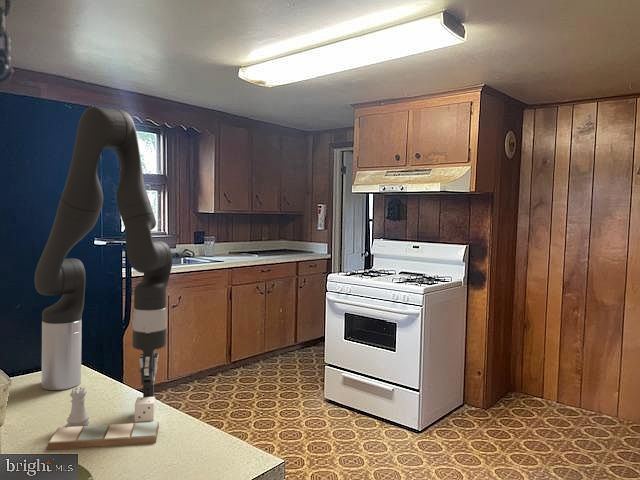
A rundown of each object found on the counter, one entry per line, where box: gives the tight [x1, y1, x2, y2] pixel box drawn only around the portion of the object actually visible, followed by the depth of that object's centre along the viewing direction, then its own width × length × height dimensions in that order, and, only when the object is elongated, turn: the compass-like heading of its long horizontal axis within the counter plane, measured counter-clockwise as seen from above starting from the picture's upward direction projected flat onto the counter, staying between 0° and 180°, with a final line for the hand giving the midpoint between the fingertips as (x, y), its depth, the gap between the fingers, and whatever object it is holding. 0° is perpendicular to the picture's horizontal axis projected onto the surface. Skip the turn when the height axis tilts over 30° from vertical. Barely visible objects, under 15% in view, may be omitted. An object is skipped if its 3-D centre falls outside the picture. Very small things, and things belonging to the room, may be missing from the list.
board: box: [47, 421, 160, 450], centre depth 101 cm, size 7×20×1 cm, turn 103°
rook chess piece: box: [65, 386, 90, 427], centre depth 106 cm, size 4×4×8 cm
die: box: [134, 396, 156, 422], centre depth 112 cm, size 4×4×4 cm
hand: (148, 399), depth 116 cm, fingers closed
